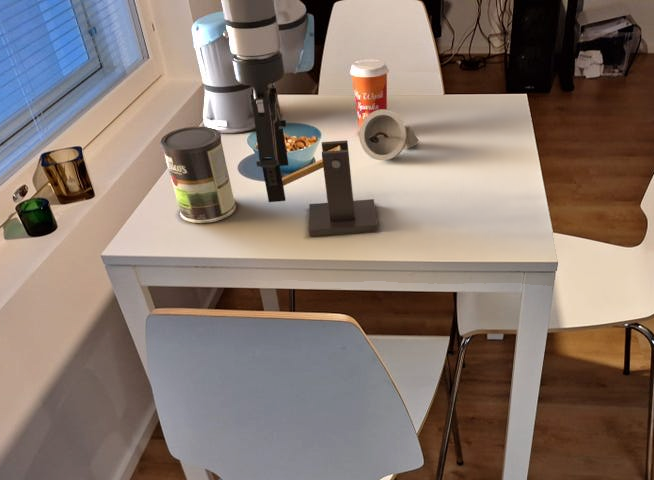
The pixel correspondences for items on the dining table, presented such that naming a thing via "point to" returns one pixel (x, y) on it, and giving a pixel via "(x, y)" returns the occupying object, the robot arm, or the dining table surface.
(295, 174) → the switch lever
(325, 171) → the stand
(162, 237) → the dining table surface
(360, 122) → the coffee cup
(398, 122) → the light fixture
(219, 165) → the coffee can
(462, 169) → the dining table surface
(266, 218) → the dining table surface
